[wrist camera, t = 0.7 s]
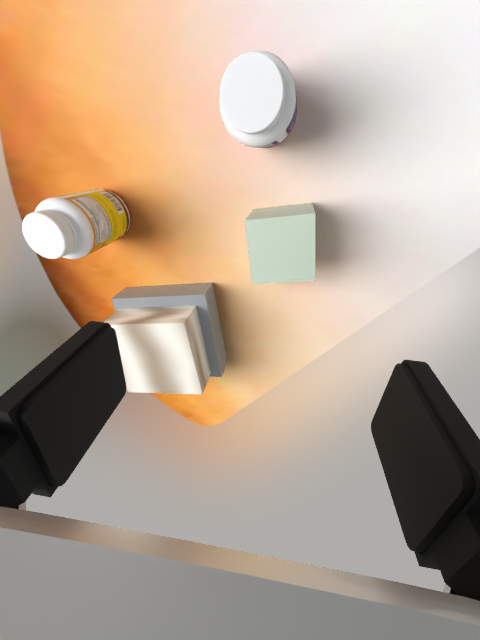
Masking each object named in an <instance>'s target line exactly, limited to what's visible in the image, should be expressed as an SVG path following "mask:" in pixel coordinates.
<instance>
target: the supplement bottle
mask: <svg viewBox="0 0 480 640" xmlns="http://www.w3.org/2000/svg"><path fill="white" fill-rule="evenodd" d="M129 226H130V215H129V211H128V209H127V207H126V205H125V203H124V202H123V201H122V199H121V198H120V197H118V196H117V195H116V194H114V193H113V192H111V191H108V190H105V189H95V190H90V191H85V192H80V193H74V194H69V195H64V196H58V197H53V198H49V199H46V200H44V201H42V202H41V203H40V204H39V205H38V206H37V207H36V209H35V212H33V213H30V214H28V215H27V216H26V217H25V218H24V220H23V223H22V230H23V235H24V237H25V239H26V241H27V243H28V244H29V246H30V247H31V248H32V249H33V250H34V251H35V252H36V253H38V254H39V255H41V256H43V257H45V258H49V259H57V258H60V257H63V258H67V259H78V258H81V257H84V256H86V255H88V254H90V253H92V252H94V251H96V250H98V249H100V248H102V247H104V246H106V245H108V244H110V243H112V242H114V241H116V240H118V239H120V238H121V237H123V236H124V235H125V234H126V233H127V231H128V229H129Z"/></svg>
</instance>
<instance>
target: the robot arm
mask: <svg viewBox="0 0 480 640" xmlns="http://www.w3.org/2000/svg"><path fill="white" fill-rule="evenodd" d="M125 392H126V381H125V376H124V371H123V366H122V361H121V356H120V351H119V346H118V341H117V336H116V331H115V329H114V328H112V327H111V325H110V324H109V323H105V322H96V321H90V322H89V323H87V324H86V325H85V326H84V327H82V328H81V329H80V330H79V331H78V332H77V333H75V334H74V335H73V336H72V337H71V338H69V339H68V340H67V341H66V342H65V343H63V344H62V345H61V346H60V347H59V348H57V349H56V350H55V351H54V352H53V353H52V354H50V355H49V356H48V357H47V358H46V359H44V360H43V361H42V362H41V363H40V364H38V365H37V366H36V367H35V368H34V369H32V370H31V371H30V372H29V373H28V374H27V375H25V376H24V377H23V378H22V379H21V380H19V381H18V382H17V383H16V384H15V385H13V386H12V387H11V388H10V389H9V390H8V391H6V392H5V393H4V394H3V395H2V396H0V640H480V439H479V438H478V436H477V435H476V434H475V432H474V431H473V429H472V428H471V426H470V425H469V424H468V422H467V420H466V419H465V418H464V416H463V415H462V413H461V412H460V410H459V409H458V408H457V406H456V405H455V403H454V402H453V400H452V399H451V397H450V396H449V394H448V393H447V391H446V390H445V388H444V387H443V386H442V384H441V383H440V381H439V380H438V378H437V377H436V375H435V374H434V372H433V371H432V370H431V368H430V367H429V365H428V364H427V363H425V362H420V361H412V360H404V361H403V362H402V363H401V364H397V365H396V366H395V368H394V370H393V373H392V375H391V377H390V380H389V382H388V384H387V387H386V389H385V391H384V394H383V396H382V399H381V401H380V403H379V406H378V408H377V410H376V413H375V415H374V417H373V420H372V423H371V431H372V435H373V438H374V441H375V445H376V448H377V451H378V454H379V457H380V460H381V464H382V467H383V470H384V473H385V476H386V480H387V483H388V486H389V489H390V492H391V496H392V499H393V502H394V505H395V508H396V511H397V515H398V518H399V521H400V524H401V528H402V531H403V534H404V537H405V540H406V543H407V545H408V547H409V549H410V550H412V551H415V554H416V557H417V561H418V564H419V566H422V567H427V568H432V569H438V570H441V573H442V576H443V579H444V582H445V583H446V585H445V588H444V590H443V592H440V591H435V590H430V589H426V588H421V587H417V586H412V585H407V584H403V583H398V582H393V581H389V580H385V579H380V578H374V577H369V576H364V575H359V574H354V573H349V572H344V571H339V570H334V569H329V568H324V567H319V566H314V565H308V564H304V563H299V562H294V561H289V560H284V559H279V558H274V557H269V556H263V555H258V554H253V553H248V552H243V551H238V550H232V549H227V548H222V547H217V546H212V545H206V544H201V543H196V542H191V541H186V540H180V539H175V538H170V537H165V536H159V535H154V534H149V533H144V532H138V531H133V530H127V529H123V528H117V527H111V526H107V525H101V524H96V523H90V522H85V521H80V520H75V519H69V518H64V517H58V516H53V515H48V514H42V513H37V512H31V511H26V500H27V498H28V497H29V496H30V494H31V493H33V494H36V495H41V496H47V497H51V496H52V494H53V493H54V492H55V490H56V489H57V487H58V486H62V485H63V484H64V483H65V482H66V480H67V479H68V478H69V477H70V475H71V474H72V472H73V471H74V469H75V468H76V466H77V465H78V463H79V462H80V460H81V459H82V457H83V456H84V454H85V453H86V451H87V450H88V449H89V447H90V446H91V444H92V443H93V441H94V439H95V438H96V436H97V435H98V434H99V432H100V430H101V429H102V428H103V426H104V425H105V423H106V422H107V420H108V419H109V417H110V416H111V414H112V413H113V411H114V410H115V409H116V407H117V405H118V404H119V403H120V401H121V400H122V398H123V396H124V395H125Z"/></svg>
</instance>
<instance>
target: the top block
mask: <svg viewBox="0 0 480 640" xmlns="http://www.w3.org/2000/svg"><path fill="white" fill-rule="evenodd" d="M104 322H105V323H109V324H110V325H111V327H112V328H114V329H115V331H116V336H117V341H118V346H119V351H120V356H121V361H122V366H123V371H124V376H125V381H126V387H127V390H128V392H143V393H178V394H203V392H204V389H205V386H206V384H207V381H208V379H209V376H210V374H211V371H210V366H209V362H208V357H207V353H206V349H205V344H204V340H203V335H202V331H201V327H200V322H199V318H198V314H197V309H196V305H195V306H171V307H146V308H122V309H118V310H117V311H116V312H115V313H114V314H112V315H111V316H110V317H109V318H108V319H107V320H106V321H104Z"/></svg>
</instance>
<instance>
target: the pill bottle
mask: <svg viewBox="0 0 480 640" xmlns="http://www.w3.org/2000/svg"><path fill="white" fill-rule="evenodd" d="M220 111H221V116H222V119H223V122H224V125H225V127H226V128H227V130H228V132H229V133H230V134H231V135H232V136H233V137H234V138H235V139H236V140H237V141H239V142H240V143H242V144H244V145H246V146H250V147H258V148H269V147H273V146H275V145H277V144H279V143H280V142H281V141H283V140H284V139H285V138H286V137H287V135H288V134H289V132H290V131H291V129H292V127H293V125H294V122H295V118H296V112H297V101H296V89H295V84H294V79H293V77H292V74H291V72H290V70H289V69H288V67H287V65H286V64H285V63H284V62H283V61H282V60H281V59H280V58H279V57H278V56H276V55H275V54H273V53H270V52H267V51H252V52H246V53H243V54H241V55H239V56H238V57H236V58H235V59H234V60H233V61H232V62H231V63H230V64H229V66H228V67H227V69H226V71H225V73H224V75H223V78H222V81H221V86H220Z"/></svg>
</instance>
